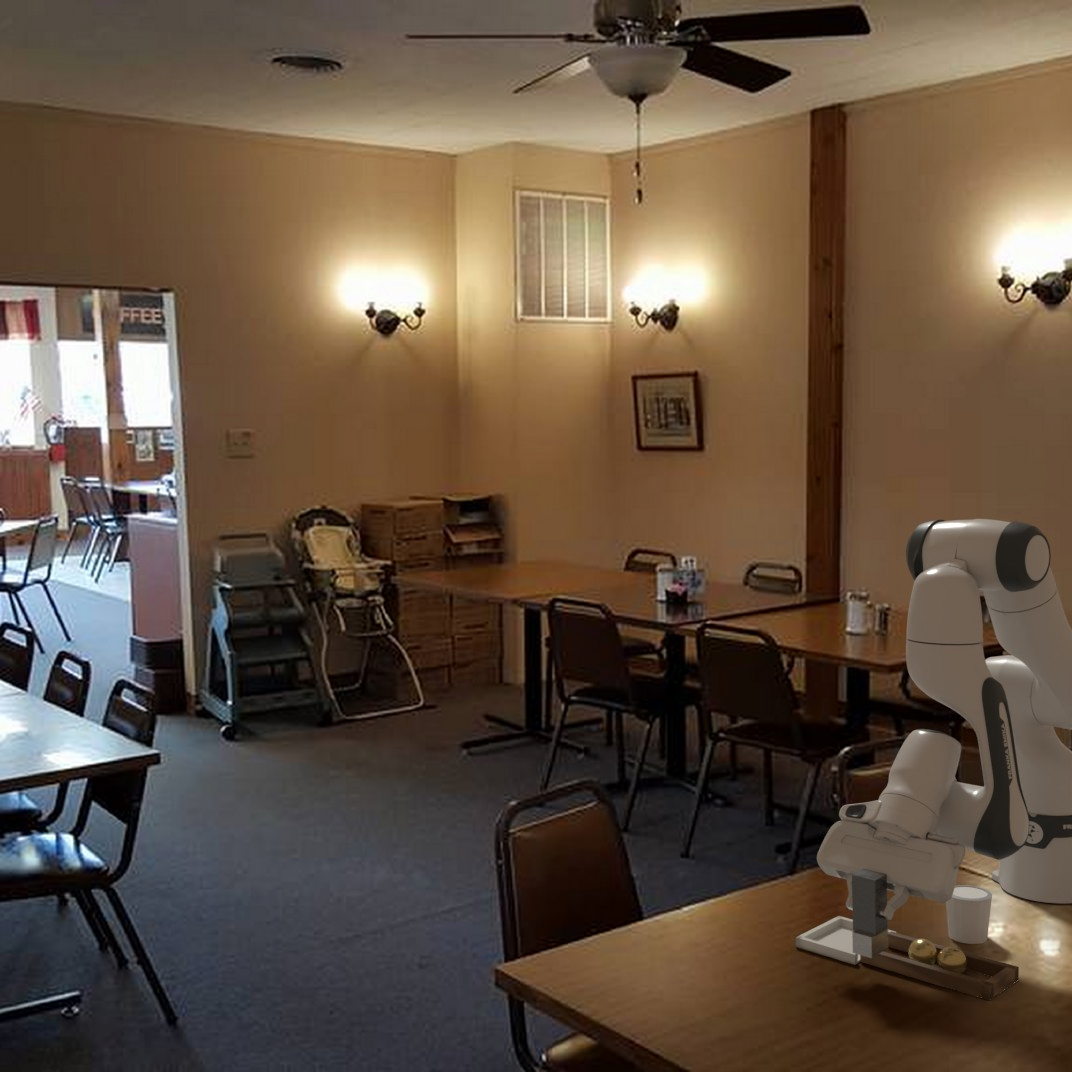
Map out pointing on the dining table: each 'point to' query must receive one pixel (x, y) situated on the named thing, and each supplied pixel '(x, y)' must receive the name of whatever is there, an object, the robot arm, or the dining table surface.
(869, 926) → the long gray brick
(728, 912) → the dining table surface
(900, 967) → the slot rail
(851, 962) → the tray
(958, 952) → the brass sphere
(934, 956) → the shiny gold ball
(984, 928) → the white cup
